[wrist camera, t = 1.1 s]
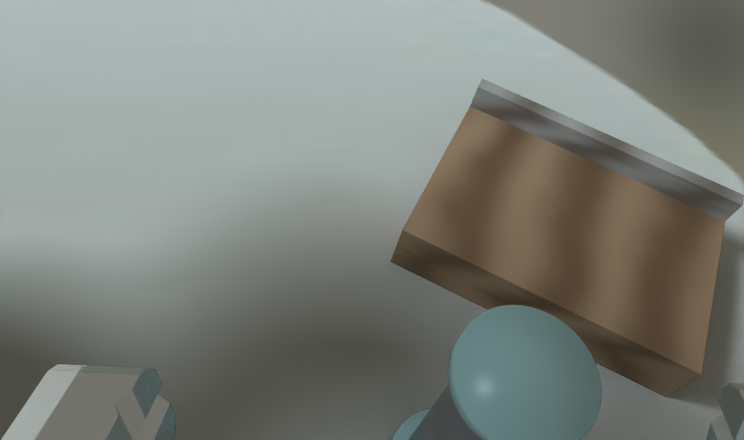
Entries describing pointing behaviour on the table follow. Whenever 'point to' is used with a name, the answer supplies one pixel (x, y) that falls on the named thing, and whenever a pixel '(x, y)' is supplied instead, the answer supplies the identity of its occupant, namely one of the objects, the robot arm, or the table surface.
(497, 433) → the cord spool
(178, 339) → the table surface
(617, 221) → the shelf block
